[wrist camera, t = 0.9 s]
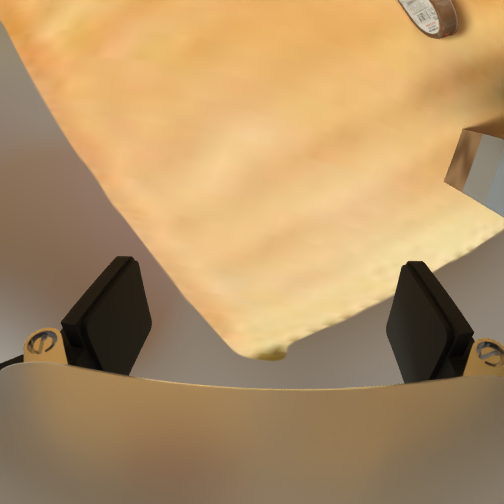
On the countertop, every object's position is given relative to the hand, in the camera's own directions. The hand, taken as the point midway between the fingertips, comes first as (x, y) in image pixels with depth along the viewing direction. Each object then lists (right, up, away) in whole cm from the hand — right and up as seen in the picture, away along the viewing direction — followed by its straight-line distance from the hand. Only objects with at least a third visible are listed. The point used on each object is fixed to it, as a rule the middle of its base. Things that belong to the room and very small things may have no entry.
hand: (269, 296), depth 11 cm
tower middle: (+30, +11, +18) cm, 37 cm away
